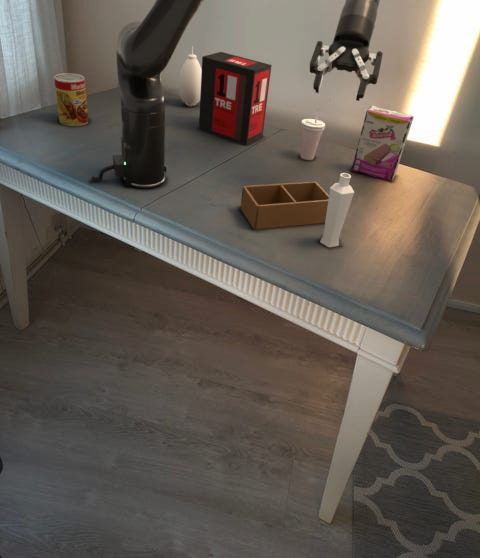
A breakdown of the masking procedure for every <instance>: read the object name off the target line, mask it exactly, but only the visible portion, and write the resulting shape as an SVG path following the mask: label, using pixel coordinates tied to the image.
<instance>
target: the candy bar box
mask: <svg viewBox="0 0 480 558" xmlns="http://www.w3.org/2000/svg"><path fill="white" fill-rule="evenodd" d="M413 121H414V115H411V114H408V113H404V112H399V111H394V110H391V109H388V108H383V107H380V106H375V105H370V106H369V108H367V109H366V112H365V115H364V120H363V123H362V128H361V131H360V135H359V139H358V143H357V146H356V151H355V154H354V158H353V162H352V166H351V171H353V172H356V173H359V174H362V175H367V176H370V177H373V178H378V179H380V180H381V179H382V180H384V181H388V182H392V181H393V180H394V178H395V177H396V175H397V171H398V168H399V165H400V161H401V159H402V155H403V152H404V149H405V145H406V142H407V140H408V136H409V133H410V130H411V127H412V124H413Z"/></svg>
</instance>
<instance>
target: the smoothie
mask: <svg viewBox="0 0 480 558" xmlns="http://www.w3.org/2000/svg"><path fill="white" fill-rule="evenodd" d="M319 113H320V106H319V105H318V106H317V108H316V112H315V118H304V119H302V120H301V122H300V126H301V135H300V136H301V137H300V152H299V153H300V154H299V157H300V158H301V159H302V160H306V161H312V160H314V158H315V155H316V152H317V150H318V146H319V143H320V140H321V138H322V135H323V131H324V130H325V128H326V123H325V122H324V121H322V120H320V119H318V117H319Z"/></svg>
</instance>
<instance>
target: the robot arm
mask: <svg viewBox="0 0 480 558" xmlns="http://www.w3.org/2000/svg"><path fill="white" fill-rule="evenodd" d="M204 2H205V0H155V1H154V4H153V5H152V6H151V8H150V10H149V11H148V13H146V15H145V17H144V18H143V20H132V21H129V22H127V23H125V24H124V25H123V26H122V27H121V28H120V30H119V31H118V34H117V36H116V43H115V57H116V71H117V72H116V73H117V86H118V90H119V91H118V92H119V96H120V109H121V110H120V113H121V133H122V135H121V137H120V145H121V154H113V155H112V164H111V165H108V166H105V167H103V168H101V170H100V171H99V172H98V176H91V181H92V182H99V181H101V180H103V178H104V174H105V173H107V172H109V171H111V170H113V171H114V174H115V177H116V178H123V181H124V183H125V186H126V187H133V188H138V189H153V188H158V187H160V186H162V185H163V184H164V183H165V180H166V177H165V174H166V173H167V167H166V166H165V157H166V156H165V155H166V154H165V151H166V149H165V148H166V147H165V145H166V144H165V143H166V141H165V139H166V138H165V137H166V136H165V135H166V134H165V133H166V132H165V131H166V129H165V128H166V127H165V125H166V118H165V117H166V96H165V91H164V88H163V83H162V72H163V71H164V70H165V69H166V68H167V66H168V65H169V62H170V60H171V58H172V57H173V55H174V52H175V51H176V48H177V47H178V44H179V42H180V40H181V39H182V36H183V35H184V33H185V30H186V29H187V27H188V25H189V24H190V22H191V20H192V19H193V18H194V17H195V14H196V13H197V12H198V11H199V9H200V8H201V7H202V5H203V3H204ZM380 3H381V0H345V1H344V5H343V7H342V9H341V13H340V16H339V20H338V24H337V26H336V30H335V33H334V37H333V41H332V43H331V44H330V45H326V44H323V41H321V40H318V41H317V42H316V45H315V48H314V50H313V53H312V56H311V59H310V62H309V73H311V74H314V75H315V76H314V80H313V83H312V84H313V90H314V91H315V92H314V93H316V94H320V91H321V86H322V84H323V79H324V76H325V75H326V74H327V73H330V72H332V71H333V70H335V69H336V70H337V71H345V72H347V73H352V72H354V73H355V75H356V77H357V78H358V79H359V82H360V83H359V85H358V89H357V93H356V98H355V101H358V102H360V99H361V100H363V98H364V97H365V94H366V90H367V86H368V85H370V84H371V85H377V83H378V79H379V76H380V70H381V65H382V60H383V54H384V53H383V52H382V51H377V52H376V53H375V52H374V53H373V52H370V51H369V50H370V49H369V48H370V46H371V41H372V38H373V34H374V30H375V29H376V22H377V17H378V10H379V5H380ZM327 53H328V57H327V58H326V59H325V60H324V61H323V62H321V64H319V63H320V59H321V58H322V57H324V56H325V54H327ZM368 61H370V64H371V65H372V66H373V70H372V73H371V74H369V72H368V70H367V69H366V65H365V64H366V62H368Z"/></svg>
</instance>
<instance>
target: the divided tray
mask: <svg viewBox="0 0 480 558" xmlns="http://www.w3.org/2000/svg"><path fill="white" fill-rule="evenodd" d="M328 200H329V193H327V191H326V190H325V189H324V188H323V187H322V186H321V185H320V184H319V183H318V182H317V181H301V182H300V181H299V182H286V183H285V182H284V183H270V184H254V185H242V191H241V200H240V207H239V208H240V210H241V212H242V213H243V215H244V217H245V218H246V219H247V221H248V223H249V224H250V225H251V228H252V229H253V230H265V229H275V228H287V227H296V226H305V225H317V224H318V225H319V224H325V221H326V214H327V207H328Z"/></svg>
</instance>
